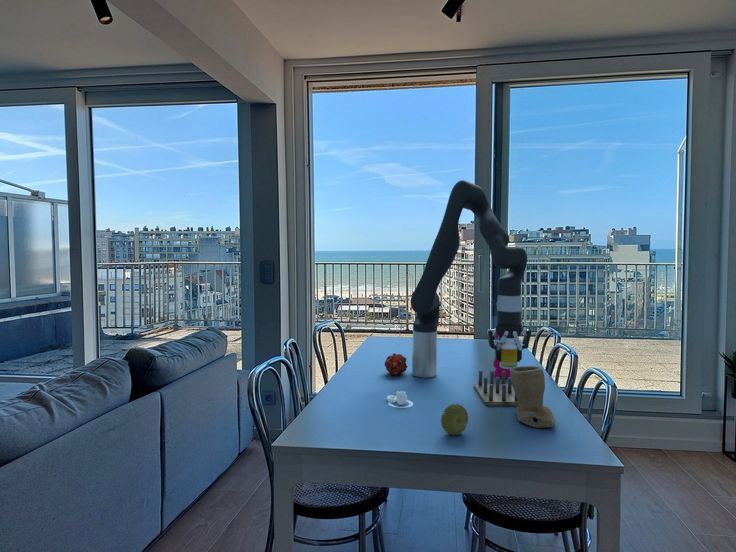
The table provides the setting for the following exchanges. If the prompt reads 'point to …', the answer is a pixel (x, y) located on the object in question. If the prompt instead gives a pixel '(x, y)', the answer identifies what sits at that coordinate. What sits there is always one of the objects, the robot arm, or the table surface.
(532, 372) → the tan boot vase
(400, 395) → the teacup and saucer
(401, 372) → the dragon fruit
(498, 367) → the pepper mill
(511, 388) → the drying rack
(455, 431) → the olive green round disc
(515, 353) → the supplement bottle
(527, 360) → the table surface
